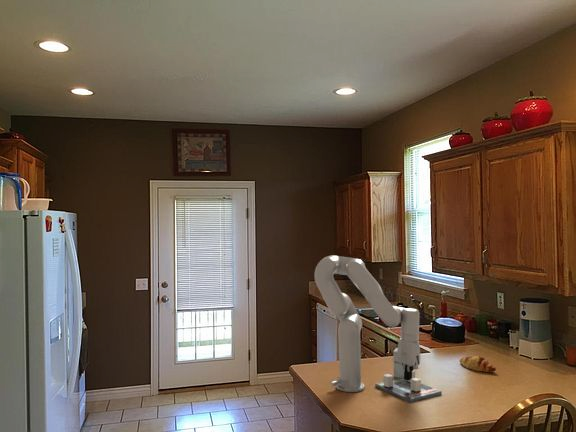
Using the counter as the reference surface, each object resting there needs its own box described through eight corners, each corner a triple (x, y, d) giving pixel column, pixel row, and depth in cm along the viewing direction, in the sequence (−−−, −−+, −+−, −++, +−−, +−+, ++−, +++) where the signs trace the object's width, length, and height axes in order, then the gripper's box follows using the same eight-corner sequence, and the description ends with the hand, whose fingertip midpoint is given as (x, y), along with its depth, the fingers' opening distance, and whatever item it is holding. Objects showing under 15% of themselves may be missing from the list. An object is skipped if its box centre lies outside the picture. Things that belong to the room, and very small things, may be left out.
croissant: (456, 371, 246) (450, 358, 244) (467, 359, 250) (462, 346, 249) (492, 381, 227) (487, 367, 226) (503, 368, 232) (498, 355, 231)
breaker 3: (415, 391, 201) (415, 380, 201) (410, 389, 204) (410, 378, 204) (420, 390, 203) (420, 379, 203) (415, 388, 205) (415, 377, 205)
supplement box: (393, 377, 226) (392, 350, 226) (397, 373, 232) (396, 347, 233) (408, 379, 222) (408, 352, 223) (412, 375, 229) (411, 348, 229)
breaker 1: (388, 387, 207) (387, 376, 207) (383, 385, 209) (383, 375, 209) (393, 386, 208) (393, 375, 208) (388, 384, 211) (388, 373, 211)
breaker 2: (410, 382, 213) (410, 372, 213) (405, 380, 216) (405, 370, 216) (415, 381, 214) (415, 371, 215) (410, 379, 217) (410, 369, 217)
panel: (410, 402, 194) (409, 398, 194) (375, 387, 213) (375, 383, 213) (441, 394, 202) (441, 390, 202) (405, 380, 221) (405, 376, 222)
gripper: (391, 334, 211) (389, 375, 211) (415, 342, 198) (413, 386, 198) (404, 332, 214) (402, 373, 214) (428, 340, 201) (426, 384, 201)
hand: (407, 379), depth 206 cm, fingers closed
